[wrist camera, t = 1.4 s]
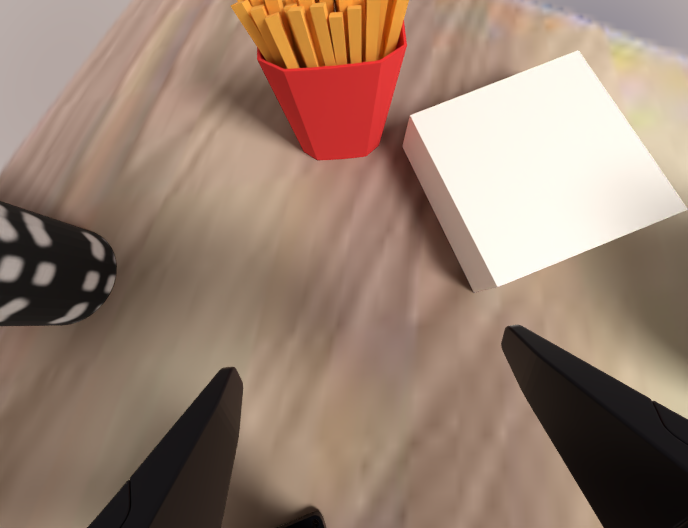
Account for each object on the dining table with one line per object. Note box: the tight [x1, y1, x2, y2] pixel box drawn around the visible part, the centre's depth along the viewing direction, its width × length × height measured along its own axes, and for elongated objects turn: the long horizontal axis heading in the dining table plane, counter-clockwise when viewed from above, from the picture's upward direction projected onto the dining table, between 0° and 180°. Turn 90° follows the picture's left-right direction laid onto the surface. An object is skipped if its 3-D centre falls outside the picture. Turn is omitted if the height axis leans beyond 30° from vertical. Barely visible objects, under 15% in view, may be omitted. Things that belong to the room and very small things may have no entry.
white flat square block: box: [402, 50, 688, 293], centre depth 23 cm, size 14×14×4 cm
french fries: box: [231, 0, 409, 160], centre depth 20 cm, size 9×4×13 cm, turn 94°
